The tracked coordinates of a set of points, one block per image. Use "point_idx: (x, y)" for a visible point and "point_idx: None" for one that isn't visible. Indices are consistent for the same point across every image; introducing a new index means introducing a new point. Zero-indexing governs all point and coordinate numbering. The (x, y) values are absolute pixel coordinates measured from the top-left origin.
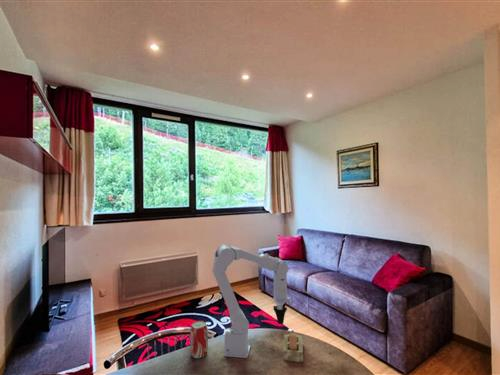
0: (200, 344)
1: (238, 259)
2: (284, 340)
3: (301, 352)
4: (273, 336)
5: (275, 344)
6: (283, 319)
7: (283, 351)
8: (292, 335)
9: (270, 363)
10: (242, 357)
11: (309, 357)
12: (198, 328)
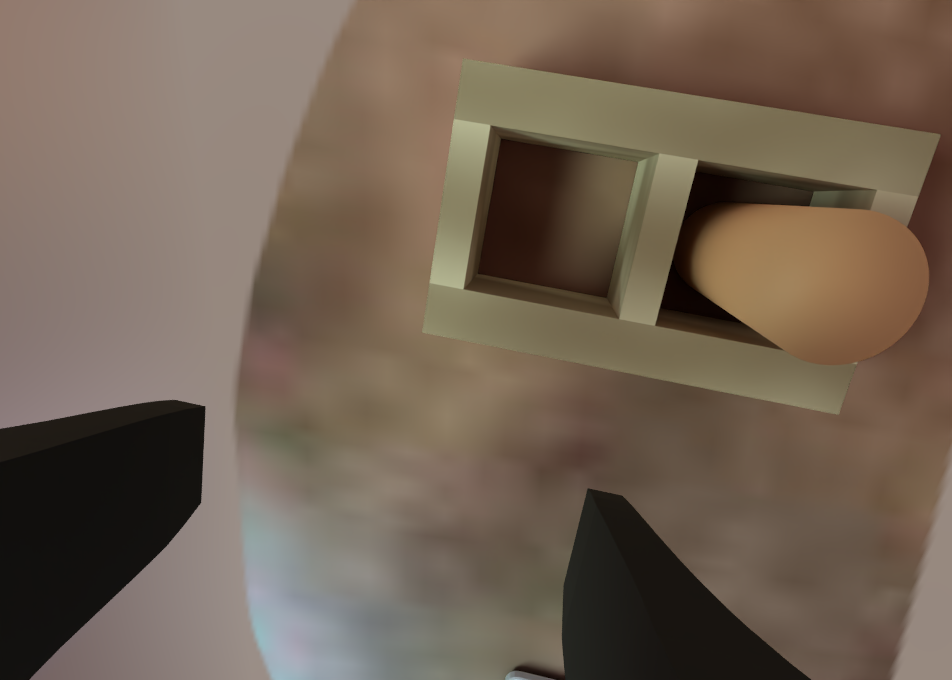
0: None
1: None
2: (580, 357)
3: (930, 159)
4: (313, 417)
5: (475, 418)
6: (671, 561)
7: (835, 412)
8: (852, 295)
9: (815, 518)
10: None
11: (782, 41)
12: None
